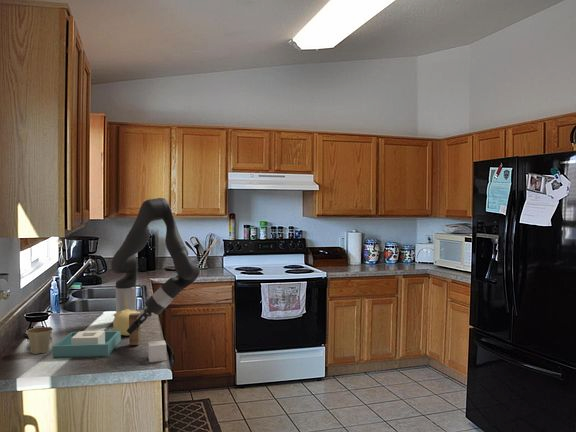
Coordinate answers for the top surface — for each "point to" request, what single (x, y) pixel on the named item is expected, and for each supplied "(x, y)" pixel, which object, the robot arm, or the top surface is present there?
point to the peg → (135, 335)
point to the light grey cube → (157, 351)
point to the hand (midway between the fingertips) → (129, 330)
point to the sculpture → (122, 321)
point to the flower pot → (39, 339)
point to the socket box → (87, 344)
